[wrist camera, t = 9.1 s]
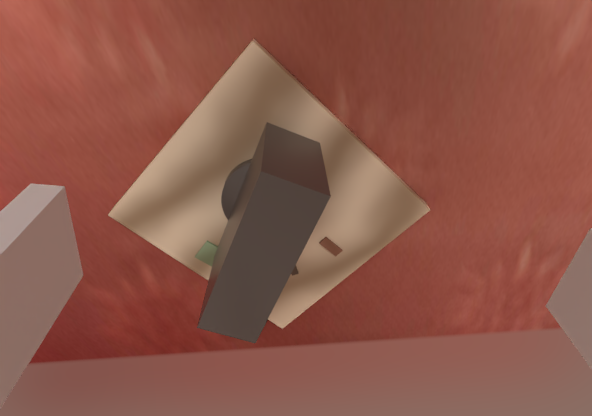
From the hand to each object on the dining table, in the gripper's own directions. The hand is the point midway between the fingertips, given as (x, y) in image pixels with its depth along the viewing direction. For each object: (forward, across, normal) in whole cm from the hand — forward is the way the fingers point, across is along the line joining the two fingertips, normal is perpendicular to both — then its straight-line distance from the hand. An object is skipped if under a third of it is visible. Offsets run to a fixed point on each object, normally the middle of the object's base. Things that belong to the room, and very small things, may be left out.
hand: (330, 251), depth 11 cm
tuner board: (+21, -1, -12) cm, 24 cm away
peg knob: (+20, -2, -11) cm, 23 cm away
